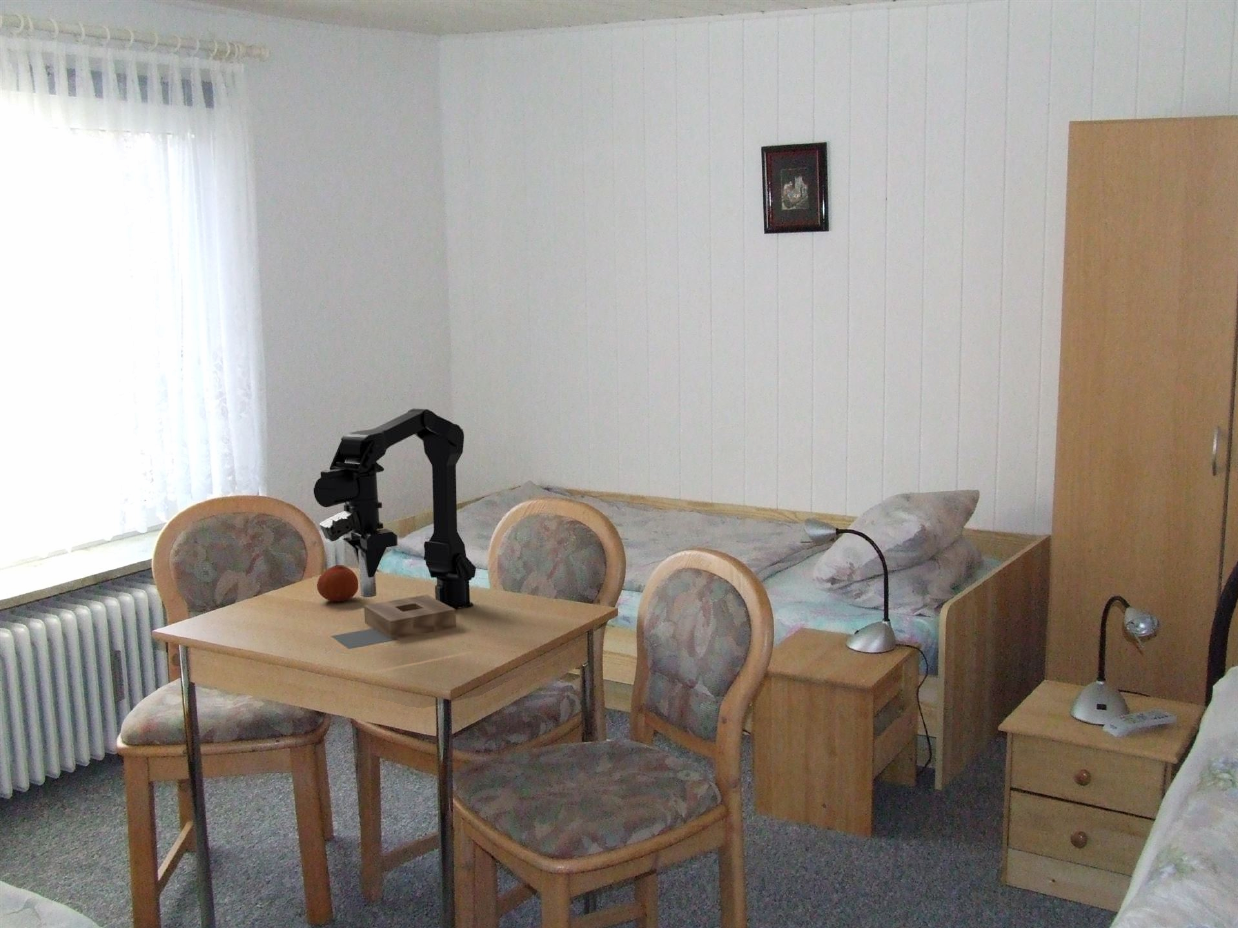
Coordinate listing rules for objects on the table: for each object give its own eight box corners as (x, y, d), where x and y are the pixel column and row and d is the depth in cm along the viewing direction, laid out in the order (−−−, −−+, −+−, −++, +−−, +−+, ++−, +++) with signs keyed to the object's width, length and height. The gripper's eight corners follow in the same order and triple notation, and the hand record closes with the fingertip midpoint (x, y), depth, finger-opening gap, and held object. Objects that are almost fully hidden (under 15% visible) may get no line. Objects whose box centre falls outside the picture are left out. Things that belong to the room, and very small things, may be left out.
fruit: (319, 596, 279) (317, 561, 277) (359, 594, 280) (357, 559, 279) (316, 607, 270) (314, 571, 269) (358, 604, 272) (356, 568, 270)
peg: (373, 592, 248) (370, 543, 246) (378, 595, 246) (375, 546, 244) (358, 594, 247) (355, 545, 245) (364, 598, 244) (361, 548, 242)
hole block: (427, 612, 264) (426, 594, 263) (456, 628, 252) (455, 609, 252) (364, 624, 257) (363, 605, 256) (391, 640, 245) (390, 621, 244)
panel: (378, 629, 253) (378, 627, 253) (397, 641, 245) (397, 639, 245) (331, 637, 248) (330, 635, 248) (349, 650, 239) (348, 648, 239)
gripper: (306, 495, 246) (312, 572, 249) (339, 510, 231) (345, 592, 233) (360, 488, 252) (365, 563, 255) (396, 503, 237) (401, 582, 239)
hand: (367, 575), depth 245 cm, fingers closed on peg, 3 cm apart
